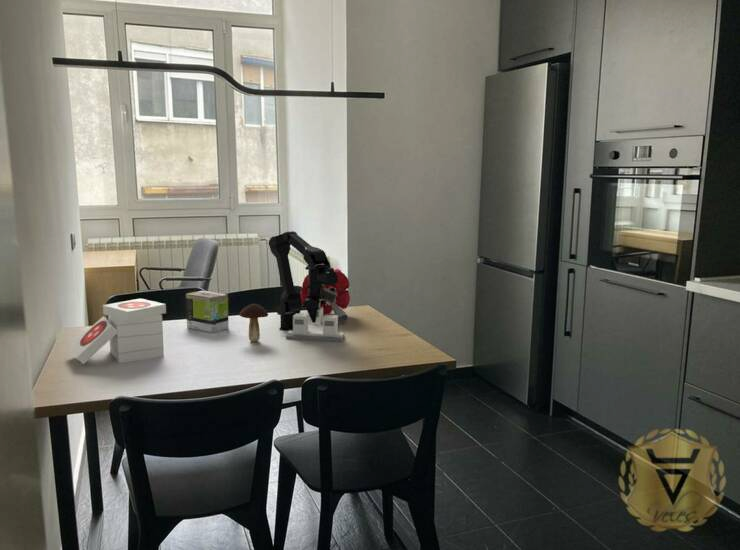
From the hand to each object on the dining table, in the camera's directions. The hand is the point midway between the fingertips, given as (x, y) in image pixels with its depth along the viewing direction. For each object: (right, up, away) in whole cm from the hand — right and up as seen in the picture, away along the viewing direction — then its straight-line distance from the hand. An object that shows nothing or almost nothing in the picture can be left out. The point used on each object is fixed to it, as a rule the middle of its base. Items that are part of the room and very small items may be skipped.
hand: (315, 320), depth 236 cm
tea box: (-46, -4, +12) cm, 48 cm away
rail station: (0, -7, +1) cm, 7 cm away
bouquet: (+2, -1, +34) cm, 34 cm away
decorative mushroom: (-23, -8, -6) cm, 25 cm away
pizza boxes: (-66, -11, -27) cm, 72 cm away
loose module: (0, -1, 0) cm, 1 cm away
